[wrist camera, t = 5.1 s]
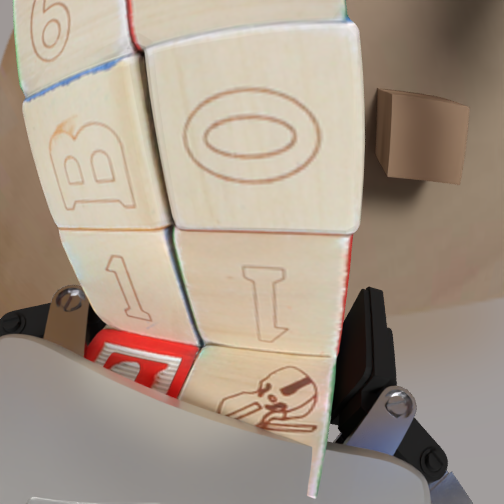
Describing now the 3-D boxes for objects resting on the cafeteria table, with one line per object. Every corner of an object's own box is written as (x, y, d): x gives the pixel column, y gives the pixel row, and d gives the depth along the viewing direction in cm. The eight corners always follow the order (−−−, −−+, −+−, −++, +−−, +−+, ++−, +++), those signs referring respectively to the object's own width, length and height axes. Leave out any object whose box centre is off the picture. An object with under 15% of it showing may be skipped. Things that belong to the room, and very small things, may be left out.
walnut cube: (441, 97, 17) (469, 107, 13) (436, 160, 20) (459, 185, 16) (377, 88, 18) (392, 94, 14) (375, 154, 21) (387, 176, 17)
